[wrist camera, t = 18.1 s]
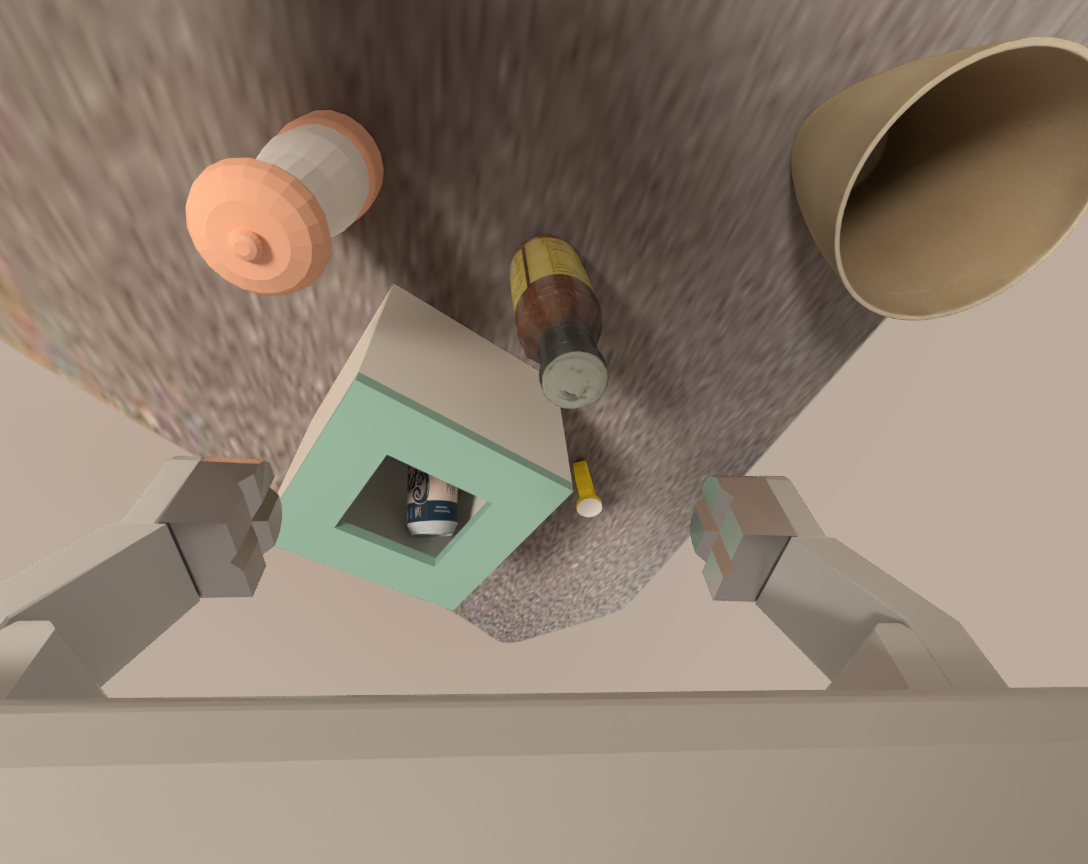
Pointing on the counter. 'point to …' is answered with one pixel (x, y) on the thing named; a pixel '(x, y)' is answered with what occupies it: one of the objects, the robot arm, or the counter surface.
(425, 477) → the beer can
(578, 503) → the watch
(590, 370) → the sauce bottle
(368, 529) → the recycling bin
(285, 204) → the pepper shaker
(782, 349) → the counter surface
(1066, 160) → the plant pot
